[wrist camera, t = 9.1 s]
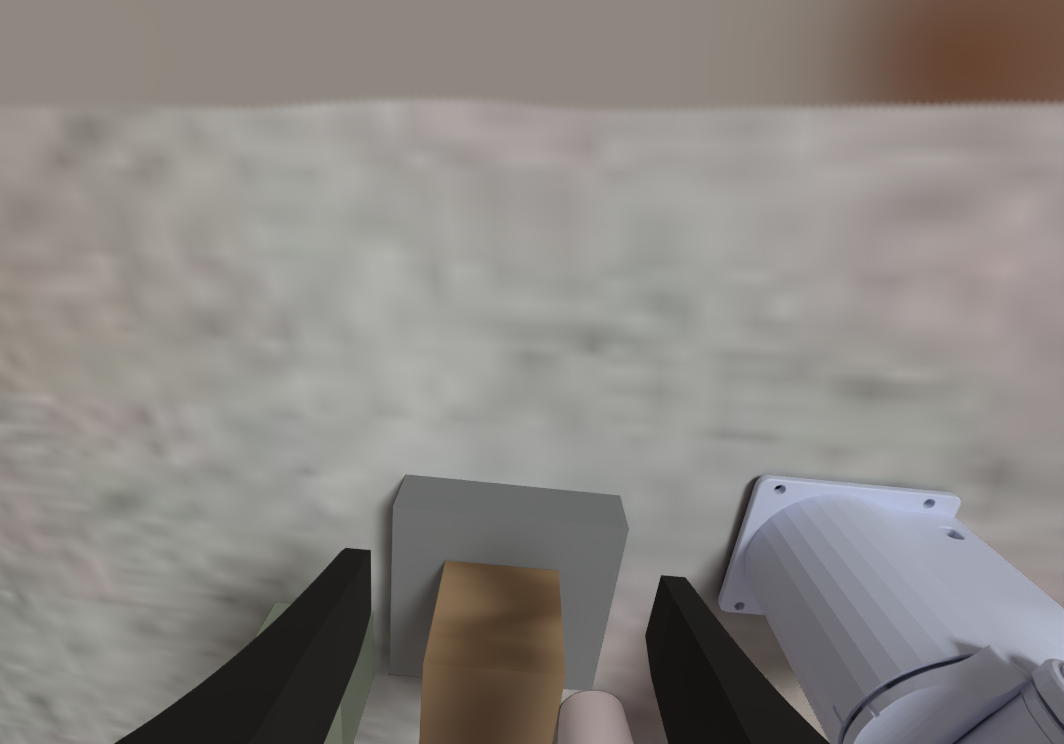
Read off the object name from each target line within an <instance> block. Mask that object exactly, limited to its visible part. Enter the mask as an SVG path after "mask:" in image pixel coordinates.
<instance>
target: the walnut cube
mask: <svg viewBox="0 0 1064 744" xmlns="http://www.w3.org/2000/svg"><path fill="white" fill-rule="evenodd" d="M565 677H566V672H565V657H564V642H563V627H562V612H561V597H560V582H559V571H558V570H547V569H536V568H524V567H513V566H502V565H490V564H479V563H468V562H456V561H445V565H444V569H443V574H442V579H441V583H440V588H439V593H438V597H437V602H436V607H435V611H434V616H433V621H432V625H431V630H430V635H429V639H428V644H427V649H426V653H425V658H424V662H423V678H422V699H421V720H420V741H419V744H552V742H553V737H554V732H555V727H556V722H557V717H558V712H559V707H560V702H561V697H562V692H563V687H564V682H565Z"/></svg>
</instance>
